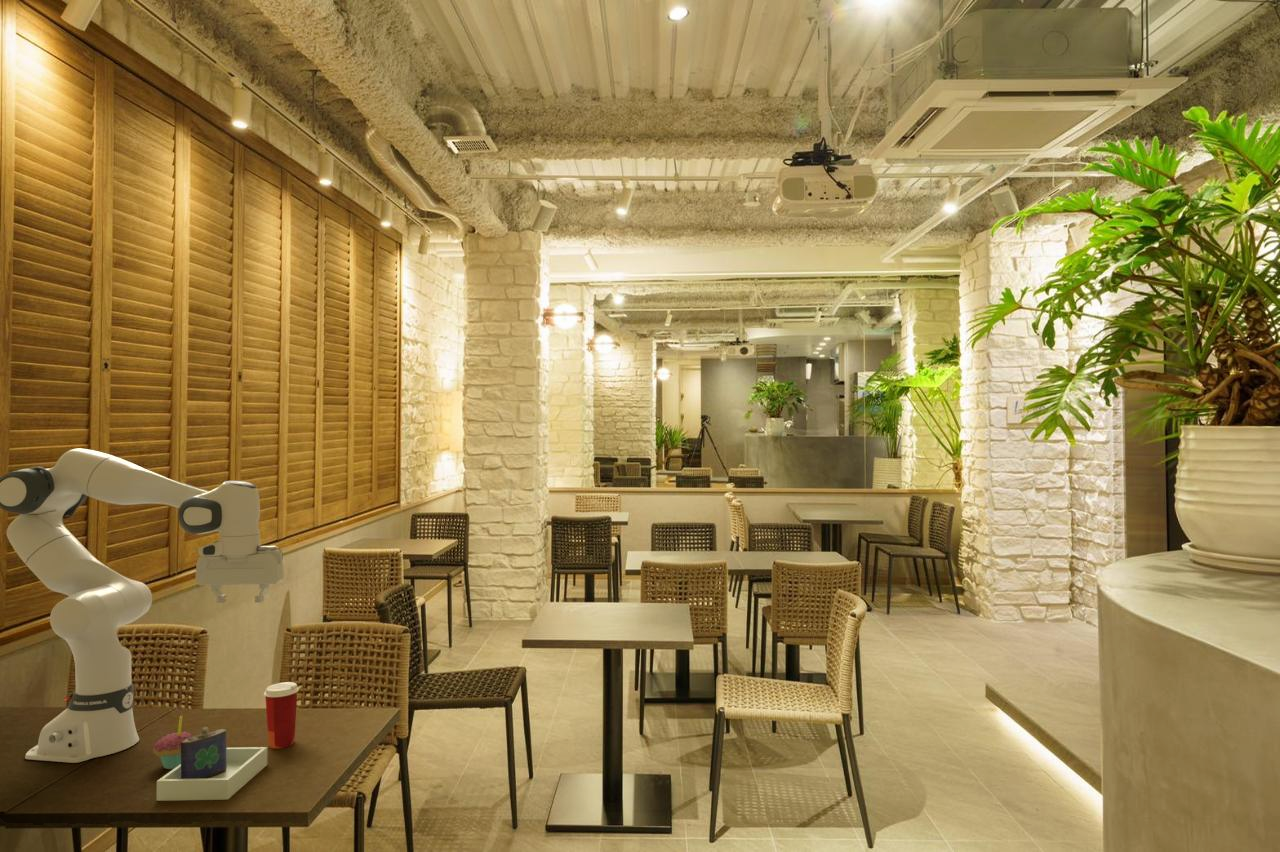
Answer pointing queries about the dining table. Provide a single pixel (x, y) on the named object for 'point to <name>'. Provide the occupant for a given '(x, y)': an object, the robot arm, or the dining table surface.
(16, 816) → the dining table surface
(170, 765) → the cupcake
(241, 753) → the serving bin
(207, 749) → the flask
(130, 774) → the dining table surface
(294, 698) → the paper cup
